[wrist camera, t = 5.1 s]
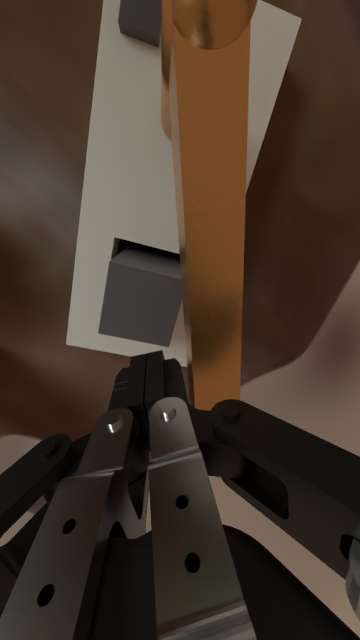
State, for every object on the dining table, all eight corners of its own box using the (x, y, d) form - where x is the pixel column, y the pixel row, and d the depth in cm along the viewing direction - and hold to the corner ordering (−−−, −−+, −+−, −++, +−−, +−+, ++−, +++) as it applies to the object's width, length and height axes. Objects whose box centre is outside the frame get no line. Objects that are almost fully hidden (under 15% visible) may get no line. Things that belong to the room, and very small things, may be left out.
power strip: (77, 328, 22) (62, 349, 18) (120, -13, 14) (107, -89, 11) (186, 349, 23) (191, 373, 20) (277, 54, 16) (310, 6, 12)
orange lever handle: (179, 351, 20) (192, 442, 12) (158, 94, 14) (157, -91, 6) (209, 348, 20) (242, 437, 12) (202, 92, 14) (262, -94, 6)
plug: (119, 293, 21) (97, 333, 14) (128, 245, 20) (109, 261, 12) (165, 303, 22) (168, 347, 14) (177, 258, 20) (187, 280, 13)
